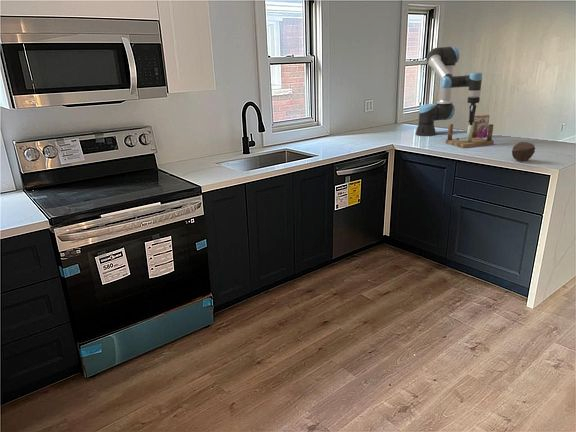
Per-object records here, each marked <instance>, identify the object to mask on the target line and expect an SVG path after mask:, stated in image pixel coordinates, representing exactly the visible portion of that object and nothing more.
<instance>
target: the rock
mask: <svg viewBox="0 0 576 432" xmlns="http://www.w3.org/2000/svg"><path fill="white" fill-rule="evenodd" d="M535 150H536V147H535V144H533V143H531V142H527V141H520V142H518V143H516V144H514V146H513V147H512V150H511V155H512V158H513V159H514V160H515V161H517V162H522V161H527V162H528V161H529V160H530V159H531V158H532V157H533V155H534V154H535V152H536V151H535Z"/></svg>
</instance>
